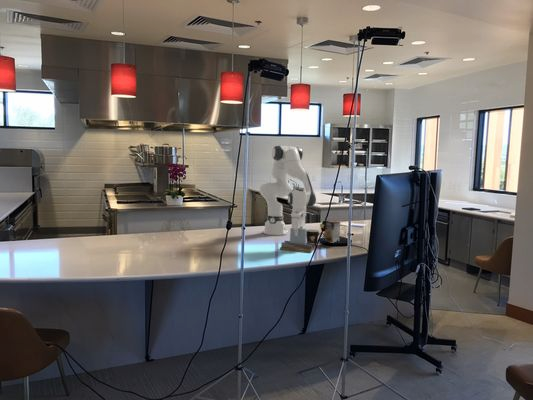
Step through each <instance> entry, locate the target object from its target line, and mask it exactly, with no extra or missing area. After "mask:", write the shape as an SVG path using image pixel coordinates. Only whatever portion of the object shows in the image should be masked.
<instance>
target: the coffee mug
mask: <svg viewBox="0 0 533 400" xmlns="http://www.w3.org/2000/svg"><path fill="white" fill-rule="evenodd" d="M321 233H322V237H321V238H319V236H320V235H321ZM323 239H324V232H319V230H318V229H307V236H306V243H315V246H316V244H317V245H318V242H319V241H321V240H323Z"/></svg>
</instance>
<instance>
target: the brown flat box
mask: <svg viewBox="0 0 533 400" xmlns="http://www.w3.org/2000/svg"><path fill="white" fill-rule="evenodd" d="M315 249H316V246H315V243H307V242H306V245H305V244H295V243H290V240H284V242H283V241H282V242H281V245H280V246H279V250H280V251H281V250H282V251H287V250H288V251H289V252H299V253H307V254H308V253H309V254H311V253H312V252H313V251H314V250H315Z"/></svg>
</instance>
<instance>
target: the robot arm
mask: <svg viewBox="0 0 533 400" xmlns="http://www.w3.org/2000/svg"><path fill="white" fill-rule="evenodd" d="M303 154H304V153H303V150H302V148H301V147H299V146H291V145H275V146H274V147H273V148H272V152H271V155H272V156H271V157H272V158H273V160H274V161H273V164H272V165H273V166H272V170H271V175H272V177H273V178H274V179H276V181H275V182H265V183H262V184H261V185H260V187H259V195H261V197H263V198H264V199H265V201H266V204H267V215H266V221H265V222H264V230H263V231H262V234H264V235H267V236H268V235H269V236H287V234H288V233H289V230H287V229H286V224H285V222H284V214H283V210H284V209H283V207H284V206H283V204H282V203H281V202H279V201H278V199H277V198H285V197H287V204H289V205H290V206H291V207H292V210H291V213H290V218H291V228H292V229H294V231H295V236H298V229H299V228H303V229H304V226H305V225H306V216H307V208H312V207H313V206H314V205H315V204H316V203H317V197H316V194H315V192H314V190H313V187H312V183H311V179H310V176H309V174H308V171H307V170H305V169H304V167H303V166H302V159H303ZM288 176H290V177H291V178H294V179H296V180H299V181H300V182H302V183H303V187H300V186H299V187H298V186H297V187H295V188H293V187H292V185H291V184H290V183H289V182H288V179H287V178H288Z"/></svg>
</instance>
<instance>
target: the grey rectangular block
mask: <svg viewBox="0 0 533 400" xmlns="http://www.w3.org/2000/svg"><path fill="white" fill-rule="evenodd" d="M307 230H308V228H304V227H303V228H299V229H298V236H295V231H294V229H292V227H290V233H289V234H290V235H289V241H290V243H295V244H305V245H306V243H307Z"/></svg>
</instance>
